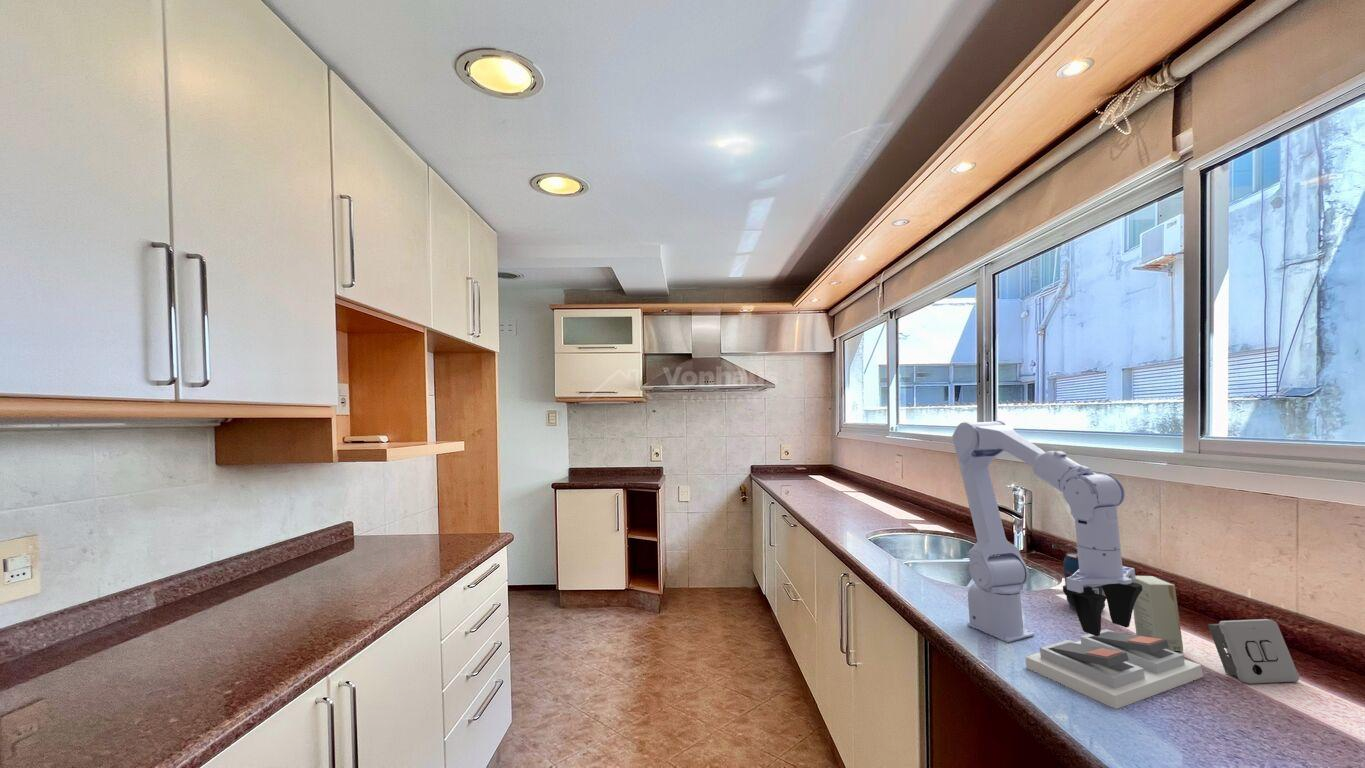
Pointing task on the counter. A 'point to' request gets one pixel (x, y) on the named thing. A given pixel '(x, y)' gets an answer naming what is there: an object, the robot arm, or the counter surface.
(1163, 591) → the skincare box
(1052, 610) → the counter surface
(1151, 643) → the rocker
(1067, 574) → the soda can
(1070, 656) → the rocker
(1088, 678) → the breaker panel
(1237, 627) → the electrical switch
